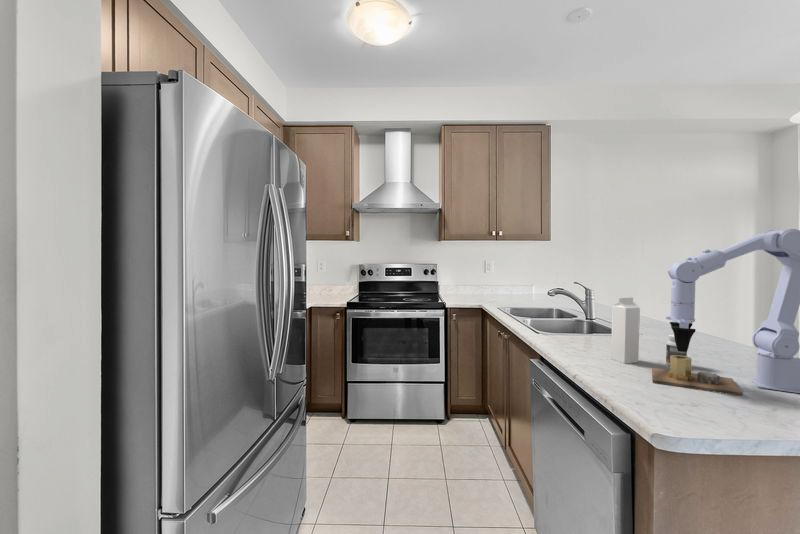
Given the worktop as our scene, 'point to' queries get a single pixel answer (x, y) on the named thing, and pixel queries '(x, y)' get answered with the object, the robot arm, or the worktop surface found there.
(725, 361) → the worktop surface
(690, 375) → the gear
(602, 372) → the worktop surface
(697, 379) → the carrier plate
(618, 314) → the milk
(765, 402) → the worktop surface
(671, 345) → the pill bottle
